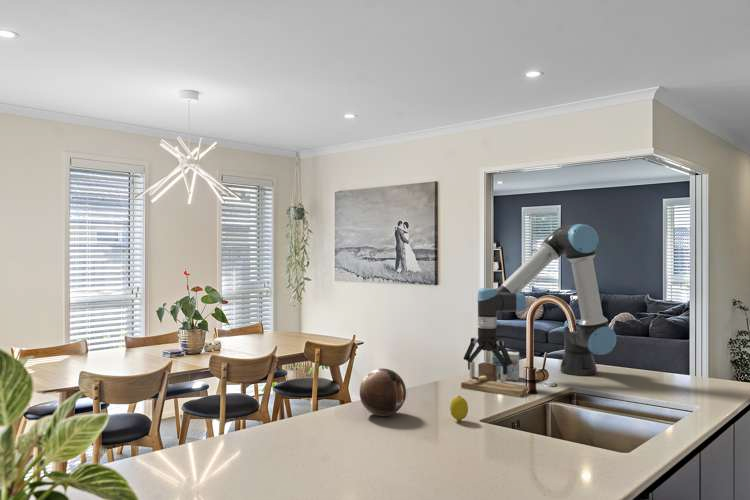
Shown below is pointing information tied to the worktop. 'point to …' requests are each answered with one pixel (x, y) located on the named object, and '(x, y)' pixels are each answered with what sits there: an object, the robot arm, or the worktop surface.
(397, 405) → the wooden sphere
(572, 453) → the worktop surface
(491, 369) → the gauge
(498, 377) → the light bulb box
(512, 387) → the board
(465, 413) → the lemon
